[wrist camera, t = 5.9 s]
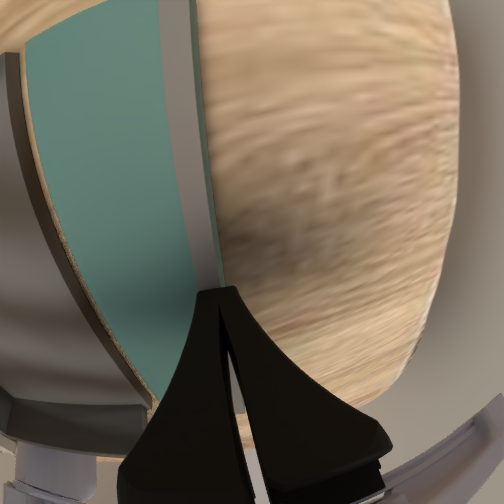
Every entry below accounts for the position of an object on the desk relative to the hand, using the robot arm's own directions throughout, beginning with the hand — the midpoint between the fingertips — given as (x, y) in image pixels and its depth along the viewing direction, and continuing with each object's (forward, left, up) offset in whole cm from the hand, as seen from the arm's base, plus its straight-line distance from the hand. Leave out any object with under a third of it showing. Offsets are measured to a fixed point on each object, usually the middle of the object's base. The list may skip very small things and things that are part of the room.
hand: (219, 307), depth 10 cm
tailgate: (0, +5, -2) cm, 6 cm away
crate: (0, +14, -2) cm, 14 cm away
